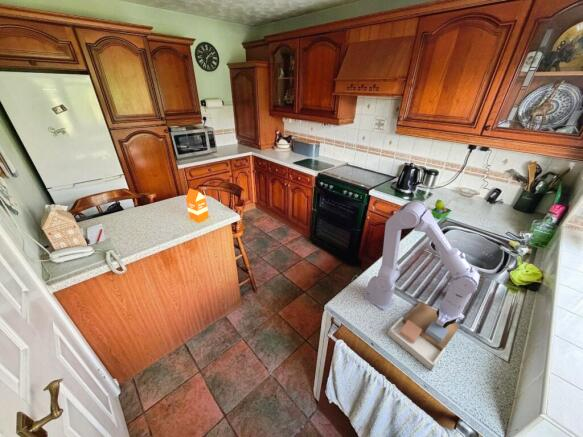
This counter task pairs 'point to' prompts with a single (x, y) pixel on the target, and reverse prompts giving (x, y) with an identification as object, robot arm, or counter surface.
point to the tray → (416, 346)
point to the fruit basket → (440, 210)
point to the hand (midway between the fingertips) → (440, 326)
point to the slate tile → (436, 332)
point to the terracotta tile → (411, 331)
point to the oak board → (424, 318)
